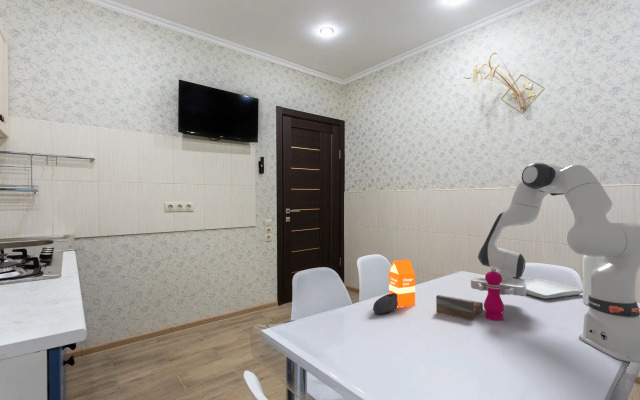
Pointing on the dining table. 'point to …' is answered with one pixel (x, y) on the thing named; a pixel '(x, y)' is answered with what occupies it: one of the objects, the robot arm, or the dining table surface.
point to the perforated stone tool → (386, 304)
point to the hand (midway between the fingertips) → (493, 290)
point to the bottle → (588, 266)
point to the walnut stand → (458, 307)
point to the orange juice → (402, 282)
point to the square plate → (549, 288)
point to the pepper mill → (493, 296)
